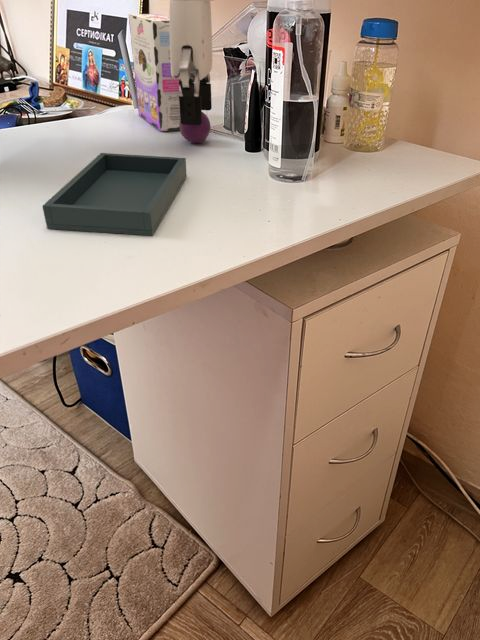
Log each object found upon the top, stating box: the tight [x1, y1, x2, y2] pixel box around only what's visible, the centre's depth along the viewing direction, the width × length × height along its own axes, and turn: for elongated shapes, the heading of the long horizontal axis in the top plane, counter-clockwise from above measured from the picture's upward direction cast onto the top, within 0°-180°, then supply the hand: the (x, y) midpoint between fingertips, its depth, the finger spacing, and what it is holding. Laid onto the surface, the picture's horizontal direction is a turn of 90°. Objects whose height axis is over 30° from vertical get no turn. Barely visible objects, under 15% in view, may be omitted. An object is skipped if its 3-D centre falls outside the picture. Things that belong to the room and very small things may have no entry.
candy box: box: [128, 13, 180, 132], centre depth 92 cm, size 14×6×16 cm, turn 27°
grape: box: [179, 111, 211, 144], centre depth 86 cm, size 5×5×5 cm
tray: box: [42, 152, 188, 237], centre depth 65 cm, size 12×20×3 cm, turn 176°
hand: (196, 116), depth 85 cm, fingers open, 9 cm apart
